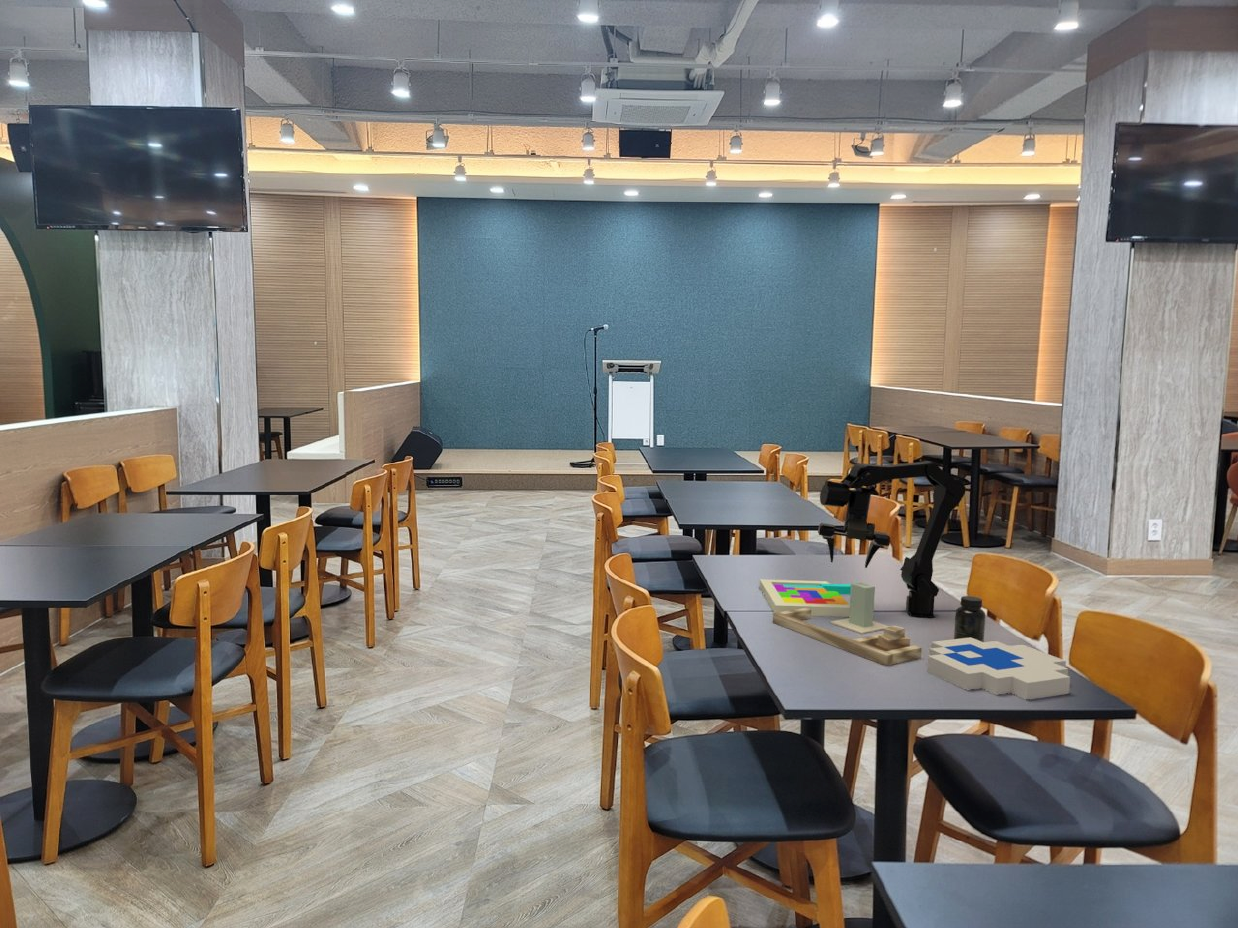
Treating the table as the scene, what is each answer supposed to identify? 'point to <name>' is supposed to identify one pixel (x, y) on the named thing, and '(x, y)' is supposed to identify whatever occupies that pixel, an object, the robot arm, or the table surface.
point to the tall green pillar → (861, 604)
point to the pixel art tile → (998, 668)
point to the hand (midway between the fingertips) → (848, 564)
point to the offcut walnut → (884, 647)
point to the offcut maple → (894, 632)
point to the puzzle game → (807, 596)
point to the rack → (845, 639)
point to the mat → (858, 629)
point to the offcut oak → (893, 642)
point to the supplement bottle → (970, 619)
